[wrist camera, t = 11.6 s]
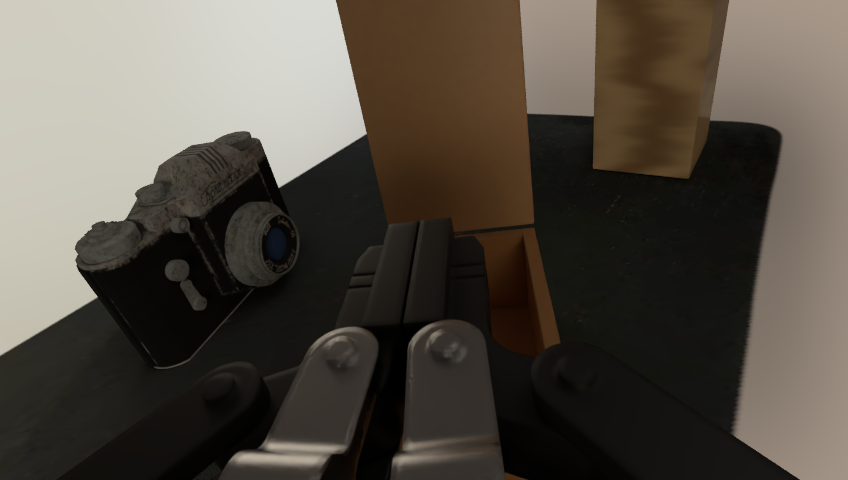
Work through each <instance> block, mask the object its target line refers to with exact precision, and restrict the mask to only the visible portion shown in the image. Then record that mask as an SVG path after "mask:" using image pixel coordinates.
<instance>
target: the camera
mask: <svg viewBox="0 0 848 480" xmlns="http://www.w3.org/2000/svg"><path fill="white" fill-rule="evenodd" d="M135 195H136V197H137V201H136V202H135V204H134V206H133V208H132V209H131V211H130V213H129V215H128V217H127V218H126V219H125V220H124V221H119V222H113V221H111V222H107V223H105V222H104V221H101V222H98V223H96V224H94V225H92V229H91V230H90V231H88V232H87V233H86V234H85V236H84V237H82V238H81V239H80V240H79V241H78V242H77V244H76V246H75V250H76V252H77V253H78V254H79V255H78V256H77V258H76V263H77V268H78V270H79V272H80V273H81V275H82V276H83V277H84V279H85V280H86V281H87V283H88V284H89V286H90V287H91V288H92V289H93V291H94V292H95V294H96V295H97V296H98V298H99V299H100V301H101V302H102V303H103V305H104V306H105V307H106V309H107V310H108V312H109V313H110V314H111V316H112V317H113V318H114V320H115V321H116V323H117V324H118V325H119V327H120V328H121V329H122V331H123V332H124V333H125V335H126V336H127V338H128V339H129V340H130V342H131V343H132V344H133V346H134V347H135V349H136V350H137V351H138V353H139V354H140V355H141V357H142V358H143V359H144V361H145V362H146V364H147V365H148V366H150V367H153V368H158V369H168V368H172V367H175V366H179V365H181V364H183V363H186V362H188V361H190V360H191V359H192V357H193V356H194V355H195V354H196V353H197V352H198V351H199V350H200V349H201V347H202V346H203V345H204V344H205V343H206V342H207V341H208V340H209V338H210V337H211V336H212V335H213V334H214V333H215V332H216V331H217V330H218V328H219V327H220V326H221V325H222V324H223V323H224V322H225V321H226V320H227V319H228V317H229V316H230V315H231V314H232V313H233V312H234V311H235V310H236V309H237V307H238V306H239V305H240V304H241V303H242V302H243V301H244V300H245V298H246V297H247V296H248V295H249V294H250V293H251V292H252V290H253V289H254V288H258V287H262V286H268V285H271V284H273V283H274V282H276V281H277V280H278V279H279V278H280V277H282V276H283V275H284V274H285V273H287V272H288V271H290V270H291V269H292V267H293V266H294V264H295V262H296V260H297V257H298V253H299V245H300V243H299V233H298V230H297V227H296V225H295V223H294V221H293V220H292V219H291V218H290V216H289V214H288V211H287V208H286V206H285V203H284V201H283V198H282V196H281V193H280V190H279V188H278V185H277V183H276V180H275V178H274V175H273V173H272V170H271V167H270V165H269V162H268V160H267V157H266V155H265V152H264V149H263V147H262V144H261V142H260V140H259V139H257V138H251V135H250V133H249V132H246V131H245V132H244V131H242V132H234V133H231V134H227V135H224V136H222V137H220V138H218V139H216V140H215V141H214V142H210V143H204V144H198V145H192V146H190V147H188V148H187V149H185V150H183V151H182V152H180V153H178V154H176V155H175V156H173V157H171V158H170V159H168V160H167V161H165V162H164V163H163V164H161V165H160V166H159V168H158V171H157V174H156V176H155V178H154V184H150V185H147V186H145V187H142V188H140V189H139V190H137V192H136V193H135Z"/></svg>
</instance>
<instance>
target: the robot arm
mask: <svg viewBox="0 0 848 480" xmlns="http://www.w3.org/2000/svg"><path fill="white" fill-rule="evenodd" d="M491 325H492V324H491V306H490V293H489V286H488V278H487V270H486V262H485V255H484V247H483V246H482V245H481V243H480V242H479V241H478V240H477V238H476V237H475V236H474V235H473V236H464V237H455V234H454V228H453V223H452V219H451V217H448V218H439V219H430V220H421V221H413V222H404V223H395V224H389V226H388V229H387V232H386V236H385V240H384V243H383V245H378V246H370V247H369V248H368V249H367V250H366V251H365V252H364V254H363V255H362V256H361V257H360V258H359V259H358V260H357V263H356V266H355V269H354V272H353V277H352V278H351V281H350V284H349V289H348V290H347V293H346V296H345V299H344V302H343V305H342V308H341V311H340V313H339V316H338V319H337V322H336V325H335V328H334V331H331V332H329V333H327V334H325V335H324V336H322V337H321V338H319V339H318V340H317V341H316V342H315V343H314V344H313V345H312V346H311V347H310V348H309V350H308V352H307V353H306V355H305V357H304V360H303V362H302V364H301V365H299V366H297V367H294V368H291V369H288V370H285V371H282V372H279V373H276V374H273V375H270V376H267V377H264V378H262V376H261V374H260V372H259V370H258V369H257V368H256V367H255V366H254V365H252V364H250V363H247V362H232V363H228V364H224V365H222V366H219V367H217V368H215V369H213V370H211V371H210V372H208V373H206V374H205V375H203V376H202V377H201V378H199V379H198V380H196V381H195V382H194V383H192V384H191V385H189V386H188V387H187V388H185V389H184V390H182V391H181V392H180V393H178V394H177V395H175V396H174V397H172V398H171V399H170V400H168V401H167V402H165V403H164V404H163V405H161V406H160V407H158V408H157V409H156V410H154V411H153V412H151V413H150V414H148V415H147V416H146V417H144V418H143V419H141V420H140V421H139V422H137V423H136V424H134V425H133V426H132V427H130V428H129V429H127V430H126V431H124V432H123V433H122V434H120V435H119V436H117V437H116V438H115V439H113V440H112V441H110V442H109V443H108V444H106V445H105V446H103V447H102V448H101V449H99V450H98V451H96V452H95V453H93V454H92V455H91V456H89V457H88V458H86V459H85V460H84V461H82V462H81V463H79V464H78V465H77V466H75V467H74V468H72V469H71V470H69V471H68V472H67V473H65V474H64V475H62V476H61V477H60V478H58V479H57V480H192V479H194V478H195V477H196V476H197V475H198V474H200V473H201V472H202V471H203V470H204V469H206V468H207V467H208V466H209V465H210V464H212V463H213V462H215V463H216V465H217V466H218V467H219V469H220V470H221V471H220V472H219V473H218V474H216V475H215V476H214V477H213V478H212V479H211V480H506V479H505V473H508V474H512V475H515V476H518V477H521V478H524V479H527V480H799V479H798V478H796V477H795V476H793V475H792V474H790V473H789V472H787V471H786V470H784V469H783V468H781V467H780V466H778V465H777V464H775V463H774V462H772V461H771V460H769V459H768V458H766V457H765V456H763V455H762V454H760V453H759V452H757V451H756V450H754V449H753V448H751V447H750V446H748V445H747V444H745V443H744V442H742V441H740V440H739V439H737V438H736V437H734V436H733V435H731V434H730V433H728V432H727V431H725V430H724V429H722V428H721V427H719V426H718V425H716V424H715V423H713V422H712V421H710V420H709V419H707V418H706V417H704V416H703V415H701V414H700V413H698V412H697V411H695V410H694V409H692V408H691V407H689V406H688V405H686V404H685V403H683V402H682V401H680V400H679V399H677V398H676V397H674V396H673V395H671V394H669V393H668V392H666V391H665V390H663V389H662V388H660V387H659V386H657V385H656V384H654V383H653V382H651V381H650V380H648V379H647V378H645V377H644V376H642V375H641V374H639V373H638V372H636V371H635V370H633V369H632V368H630V367H629V366H627V365H626V364H624V363H623V362H621V361H620V360H618V359H617V358H615V357H614V356H612V355H611V354H609V353H608V352H606V351H604V350H602V349H601V348H599V347H596V346H594V345H590V344H587V343H581V342H563V343H559V344H555V345H552V346H550V347H548V348H546V349H545V350H543V351H542V352H541V353H540V354H538V356H537V357H534V356H529V355H525V354H520V353H516V352H513V351H511V350H508V349H507V348H505V347H503V346H501V345H500V344H499V343H498V342H496V340H495V339H494V338H493V337H492V326H491Z"/></svg>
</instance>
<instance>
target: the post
mask: <svg viewBox="0 0 848 480" xmlns="http://www.w3.org/2000/svg"><path fill="white" fill-rule="evenodd" d="M728 4H729V0H597V8H596V10H597V11H596V56H595V98H594V101H595V102H594V144H593V169H600V170H610V171H619V172H629V173H638V174H647V175H657V176H666V177H676V178H685V179H689V177H690V175H691V173H692V171H693V169H694V166H695V164H696V162H697V160H698V158H699V156H700V154H701V152H702V149H703V147H704V145H705V143H706V140H707V134H708V128H709V122H710V115H711V109H712V103H713V96H714V91H715V84H716V78H717V71H718V66H719V59H720V53H721V47H722V41H723V35H724V28H725V22H726V16H727V10H728Z"/></svg>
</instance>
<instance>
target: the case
mask: <svg viewBox="0 0 848 480" xmlns="http://www.w3.org/2000/svg"><path fill="white" fill-rule="evenodd" d="M473 235H474V236H475V237H476V238H477V240H478V241H479V242H480V243H481V245H482V246H483V247H484V255H485V262H486V270H487V278H488V286H489V293H490V306H491V324H492V325H491V326H492V337H493V338H494V339H495V340H496V342H498V343H499V344H500V345H501V346H503V347H505V348H507V349H508V350H511V351H513V352H516V353H520V354H525V355H529V356H534V357H537V356H538V354H540V353H541V352H542V351H543V350H545V349H546V348H548V347H550V346H552V345H555V344H559V343H560V338H559V334H558V330H557V325H556V321H555V317H554V312H553V308H552V304H551V299H550V295H549V291H548V286H547V282H546V278H545V273H544V269H543V265H542V260H541V256H540V252H539V247H538V243H537V239H536V234H535V230H534V228H527V229H516V230H507V231H498V232H488V233H479V234H470V235H461V236H455V237H464V236H473ZM505 479H506V480H527V479H524V478H521V477H518V476H515V475H512V474H508V473H505Z"/></svg>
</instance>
